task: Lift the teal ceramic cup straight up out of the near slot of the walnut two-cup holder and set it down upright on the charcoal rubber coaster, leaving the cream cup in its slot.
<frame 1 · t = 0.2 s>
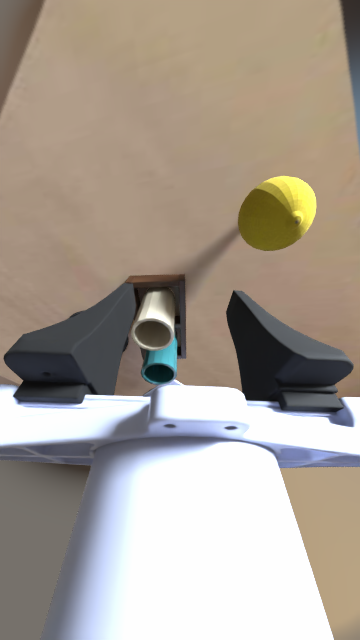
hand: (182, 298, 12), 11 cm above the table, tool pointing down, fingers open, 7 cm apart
holder: (161, 318, 26), on the table
teal cup: (163, 334, 28), resting in holder
cream cup: (159, 299, 24), resting in holder
lemon: (254, 213, 19), on the table
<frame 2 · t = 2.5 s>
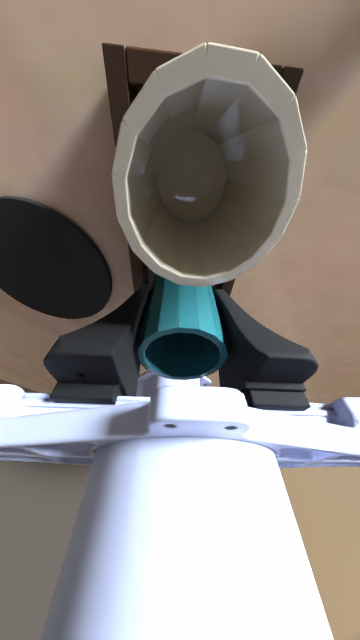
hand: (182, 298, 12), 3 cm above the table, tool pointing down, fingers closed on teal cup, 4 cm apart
holder: (186, 239, 12), on the table
teal cup: (182, 279, 15), resting in holder, touching gripper
cream cup: (191, 181, 10), resting in holder
coaster: (49, 270, 14), on the table
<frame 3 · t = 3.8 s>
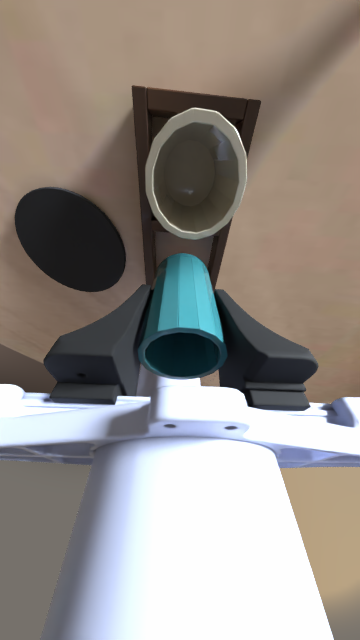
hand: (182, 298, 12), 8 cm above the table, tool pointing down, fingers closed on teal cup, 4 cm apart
holder: (185, 221, 16), on the table
teal cup: (182, 279, 15), point 5 cm above the table, touching gripper
cream cup: (189, 175, 14), resting in holder
coaster: (76, 248, 17), on the table
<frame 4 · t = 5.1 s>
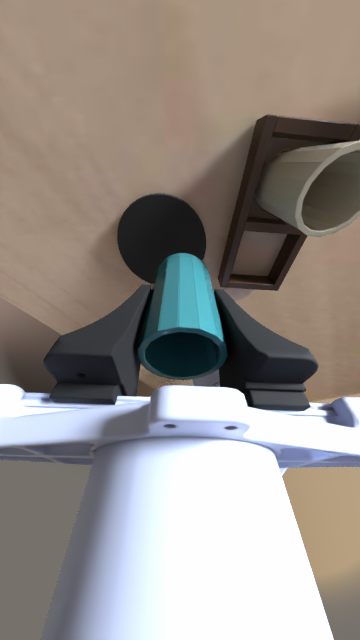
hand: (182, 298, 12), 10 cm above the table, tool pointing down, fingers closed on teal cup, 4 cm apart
holder: (265, 222, 18), on the table
teal cup: (182, 279, 15), point 7 cm above the table, touching gripper
cream cup: (280, 183, 16), resting in holder
coaster: (162, 246, 20), on the table
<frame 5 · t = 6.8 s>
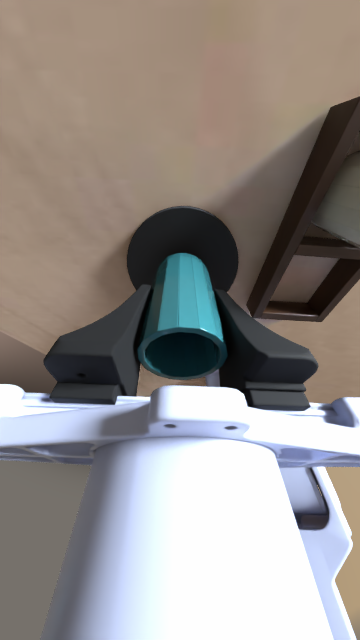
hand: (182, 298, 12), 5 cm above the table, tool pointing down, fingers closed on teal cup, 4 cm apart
holder: (316, 242, 14), on the table
teal cup: (182, 278, 15), point 2 cm above the table, touching gripper
cream cup: (345, 194, 12), resting in holder
coaster: (182, 269, 16), on the table
when the fingers open (3 cm above the table, at t = 7.8 s): teal cup stays where it is, resting on coaster.
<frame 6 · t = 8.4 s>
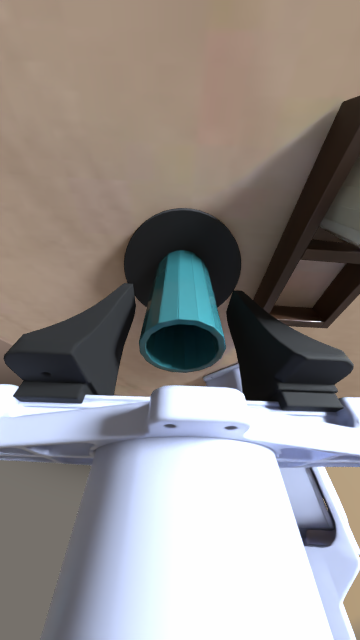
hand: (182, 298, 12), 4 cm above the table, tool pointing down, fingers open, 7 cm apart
holder: (323, 245, 14), on the table
teal cup: (181, 276, 15), resting on coaster
cream cup: (355, 195, 11), resting in holder
coaster: (182, 273, 15), on the table
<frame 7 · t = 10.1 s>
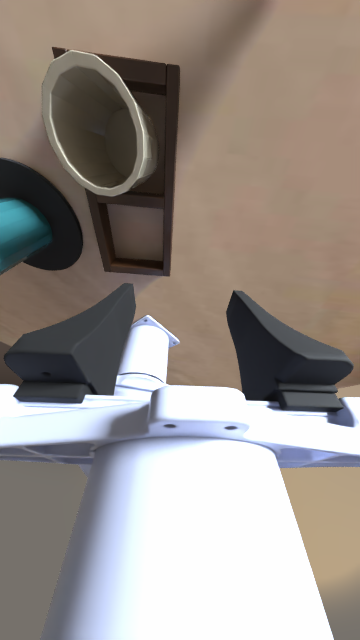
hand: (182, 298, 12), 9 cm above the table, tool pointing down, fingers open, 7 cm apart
holder: (135, 196, 16), on the table
teal cup: (28, 224, 17), resting on coaster
cream cup: (131, 147, 14), resting in holder
coaster: (31, 223, 18), on the table
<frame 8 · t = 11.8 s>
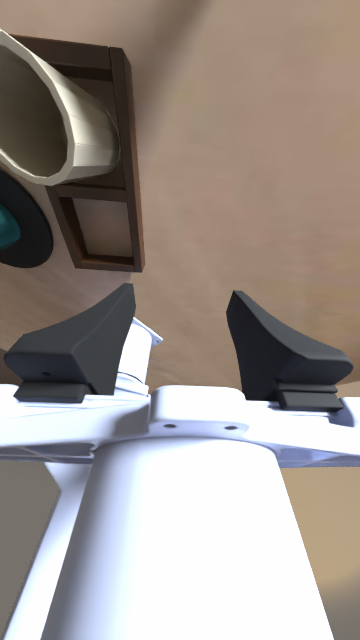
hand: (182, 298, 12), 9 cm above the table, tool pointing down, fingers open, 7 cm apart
holder: (100, 190, 16), on the table
cream cup: (90, 139, 13), resting in holder
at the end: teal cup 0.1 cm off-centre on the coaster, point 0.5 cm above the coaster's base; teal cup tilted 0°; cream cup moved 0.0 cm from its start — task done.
